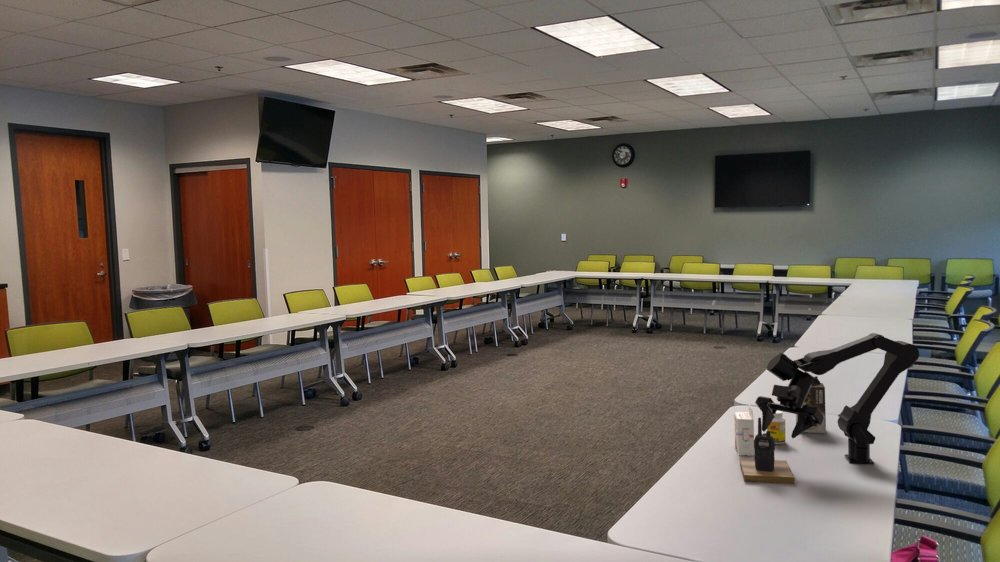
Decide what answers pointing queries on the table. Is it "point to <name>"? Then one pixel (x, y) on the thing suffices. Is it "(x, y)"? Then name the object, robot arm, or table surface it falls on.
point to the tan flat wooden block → (767, 472)
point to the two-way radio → (764, 449)
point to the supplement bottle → (778, 428)
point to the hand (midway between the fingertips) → (777, 434)
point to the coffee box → (817, 399)
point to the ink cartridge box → (744, 432)
